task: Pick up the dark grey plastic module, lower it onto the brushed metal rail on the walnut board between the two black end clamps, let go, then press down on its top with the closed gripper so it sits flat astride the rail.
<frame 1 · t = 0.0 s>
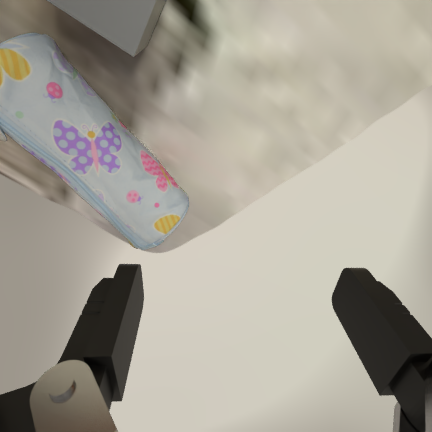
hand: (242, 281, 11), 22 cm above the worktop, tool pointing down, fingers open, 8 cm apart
pencil case: (110, 137, 30), on the worktop
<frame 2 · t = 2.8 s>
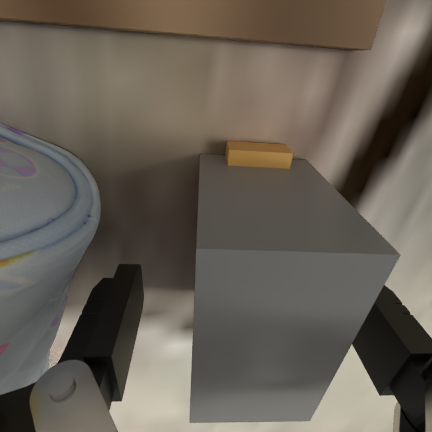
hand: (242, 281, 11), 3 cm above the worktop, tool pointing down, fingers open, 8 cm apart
din module: (242, 235, 13), on the worktop
pencil case: (8, 283, 15), on the worktop, touching gripper
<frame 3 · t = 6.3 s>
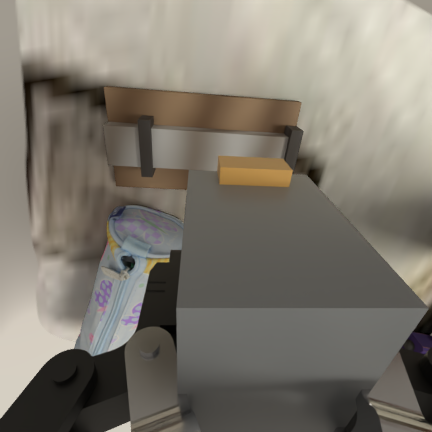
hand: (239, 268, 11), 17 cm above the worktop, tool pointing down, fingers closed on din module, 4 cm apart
din module: (237, 255, 12), point 17 cm above the worktop, touching gripper
rail board: (202, 144, 26), on the worktop
pistol: (429, 342, 46), on the worktop
pencil case: (138, 267, 34), on the worktop
when the fingers open (4 cm above the worktop, at t = 9.4 s): din module drops 2 cm, resting on rail board.
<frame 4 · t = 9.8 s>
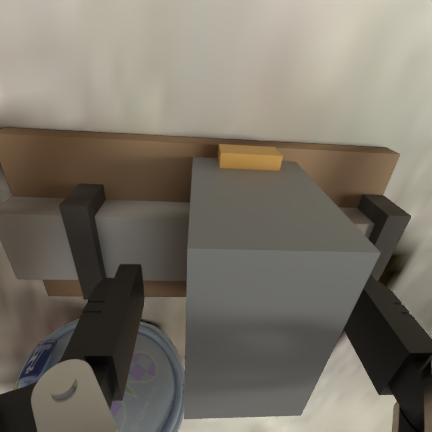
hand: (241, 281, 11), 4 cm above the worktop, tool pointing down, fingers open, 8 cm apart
din module: (235, 235, 13), point 1 cm above the worktop, touching rail board
rail board: (202, 223, 14), on the worktop
pencil case: (106, 383, 22), on the worktop
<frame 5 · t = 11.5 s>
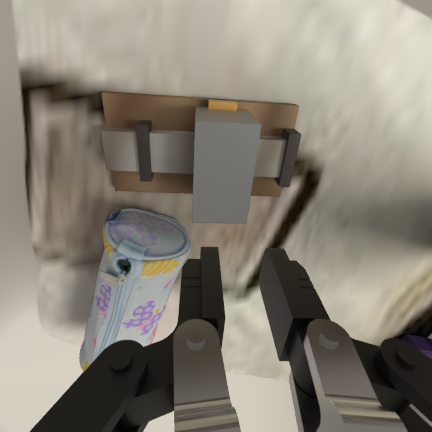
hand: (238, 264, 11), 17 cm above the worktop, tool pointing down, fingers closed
din module: (218, 152, 25), point 1 cm above the worktop, touching rail board
rail board: (201, 147, 26), on the worktop
pistol: (427, 344, 47), on the worktop
pencil case: (139, 270, 34), on the worktop
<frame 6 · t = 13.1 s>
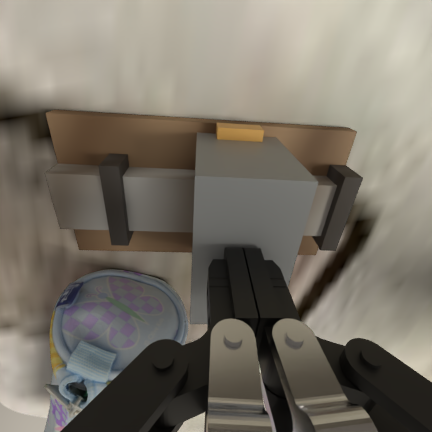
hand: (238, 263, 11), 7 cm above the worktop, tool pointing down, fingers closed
din module: (230, 198, 17), point 1 cm above the worktop, touching gripper, rail board
rail board: (204, 189, 18), on the worktop
pencil case: (120, 338, 26), on the worktop
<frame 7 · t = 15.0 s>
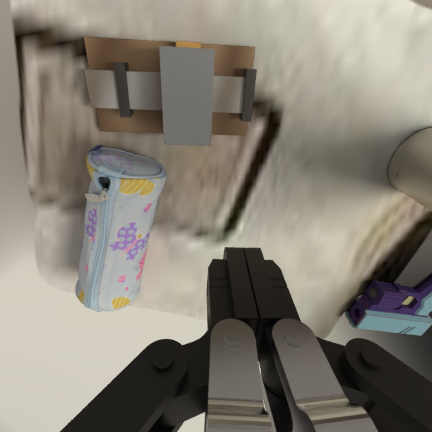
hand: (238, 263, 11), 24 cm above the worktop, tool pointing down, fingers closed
din module: (188, 92, 29), point 1 cm above the worktop, touching rail board
rail board: (173, 90, 30), on the worktop
pistol: (395, 291, 51), on the worktop
pencil case: (125, 213, 38), on the worktop
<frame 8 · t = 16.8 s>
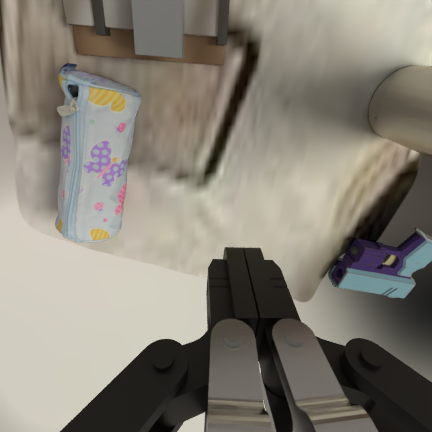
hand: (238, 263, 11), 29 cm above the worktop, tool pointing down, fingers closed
din module: (164, 14, 29), point 1 cm above the worktop, touching rail board
rail board: (151, 13, 30), on the worktop
pistol: (378, 252, 51), on the worktop
pencil case: (106, 151, 38), on the worktop
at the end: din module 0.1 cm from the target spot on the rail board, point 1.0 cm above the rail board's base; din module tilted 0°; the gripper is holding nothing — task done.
